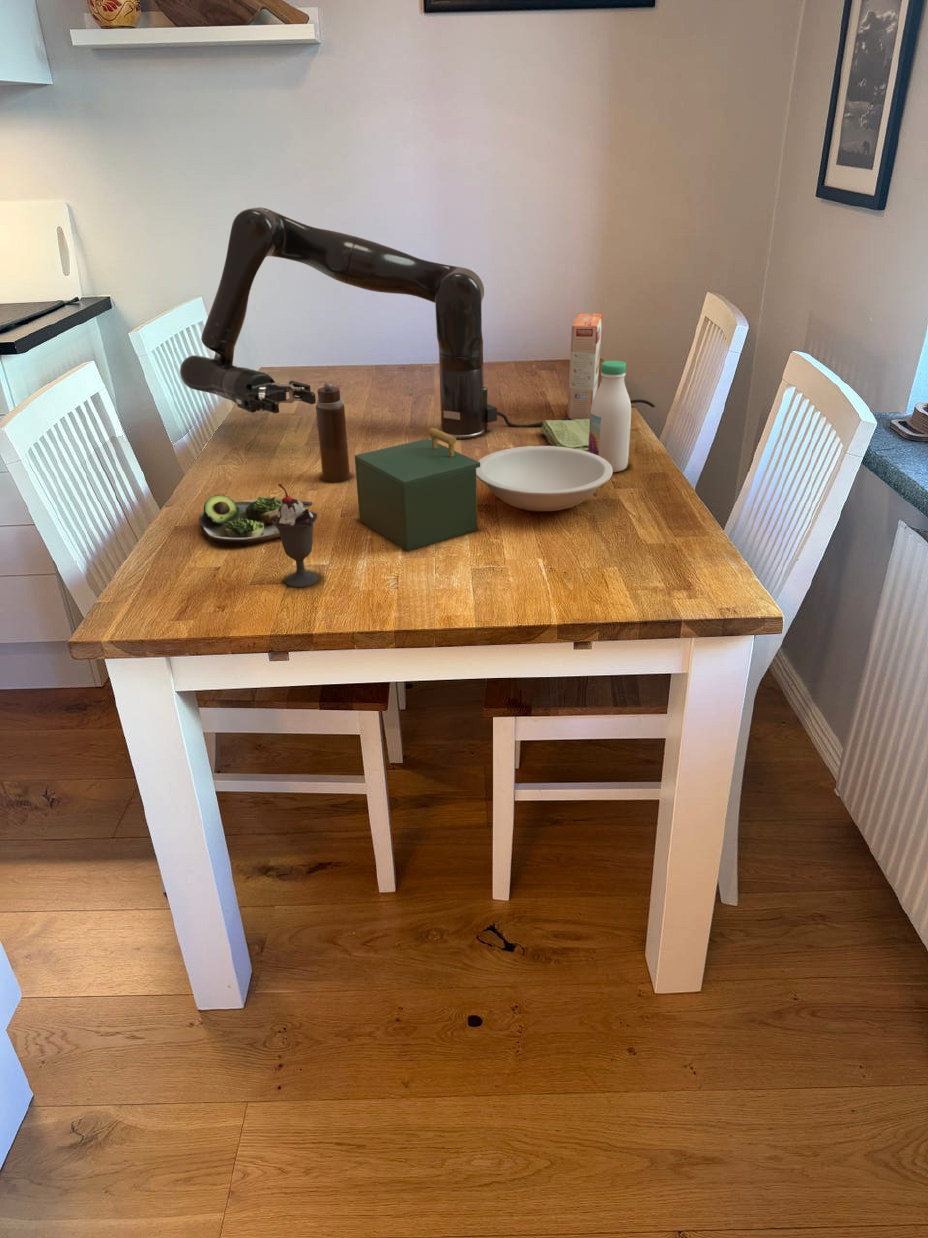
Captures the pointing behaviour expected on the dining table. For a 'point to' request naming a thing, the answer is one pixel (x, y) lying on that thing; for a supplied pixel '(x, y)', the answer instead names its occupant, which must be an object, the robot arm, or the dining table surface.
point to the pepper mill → (332, 434)
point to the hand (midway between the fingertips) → (295, 403)
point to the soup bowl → (543, 476)
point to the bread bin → (417, 507)
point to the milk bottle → (611, 417)
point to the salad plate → (240, 520)
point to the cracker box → (584, 364)
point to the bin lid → (418, 460)
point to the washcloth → (567, 433)
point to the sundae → (296, 537)
